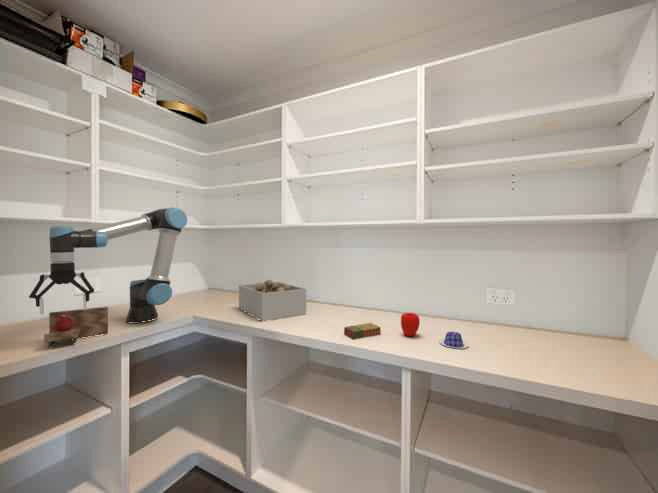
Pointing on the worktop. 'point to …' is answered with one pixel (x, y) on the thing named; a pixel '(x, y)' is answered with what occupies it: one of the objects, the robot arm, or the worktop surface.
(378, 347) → the worktop surface
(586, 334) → the worktop surface
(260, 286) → the lumpy brown heap
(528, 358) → the worktop surface
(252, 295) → the storage crate
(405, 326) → the red rounded piece
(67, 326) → the onion
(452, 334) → the blue plaid bucket hat
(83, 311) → the wallboard
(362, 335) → the carton
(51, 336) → the cleat shelf
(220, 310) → the worktop surface
